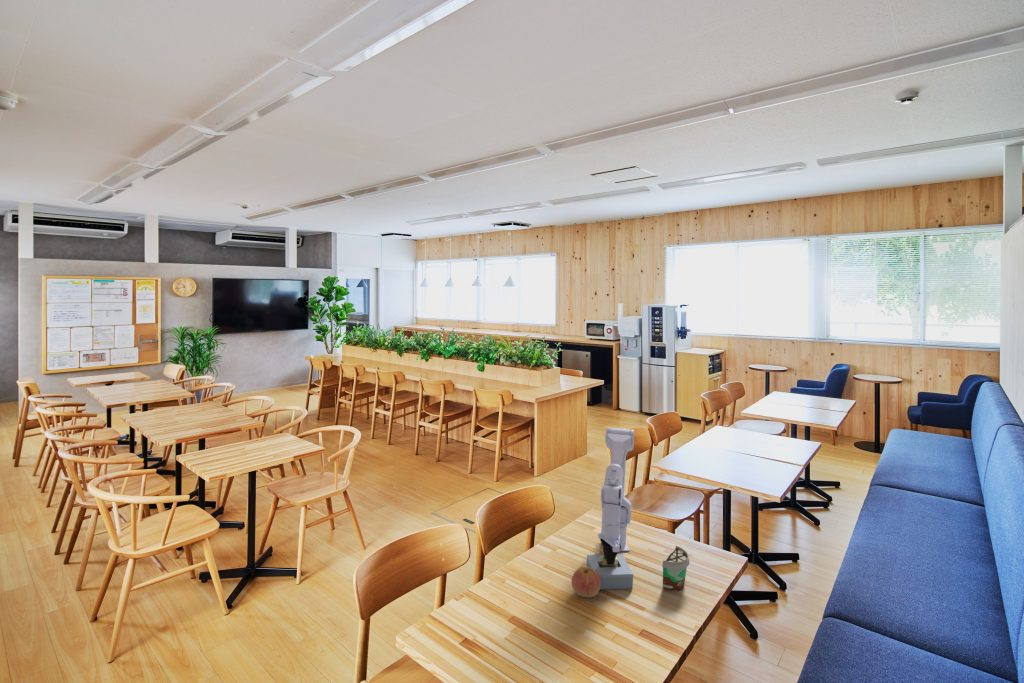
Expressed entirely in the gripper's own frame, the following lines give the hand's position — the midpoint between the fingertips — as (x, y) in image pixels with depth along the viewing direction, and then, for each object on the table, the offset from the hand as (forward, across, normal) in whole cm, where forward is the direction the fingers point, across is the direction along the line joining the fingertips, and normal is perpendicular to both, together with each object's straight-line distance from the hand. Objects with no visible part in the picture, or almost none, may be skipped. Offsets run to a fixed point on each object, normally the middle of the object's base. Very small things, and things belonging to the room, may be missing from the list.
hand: (609, 561), depth 168 cm
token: (+4, 0, 0) cm, 4 cm away
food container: (+6, +5, +21) cm, 22 cm away
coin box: (+6, 0, 0) cm, 6 cm away
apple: (+6, +8, -9) cm, 14 cm away
